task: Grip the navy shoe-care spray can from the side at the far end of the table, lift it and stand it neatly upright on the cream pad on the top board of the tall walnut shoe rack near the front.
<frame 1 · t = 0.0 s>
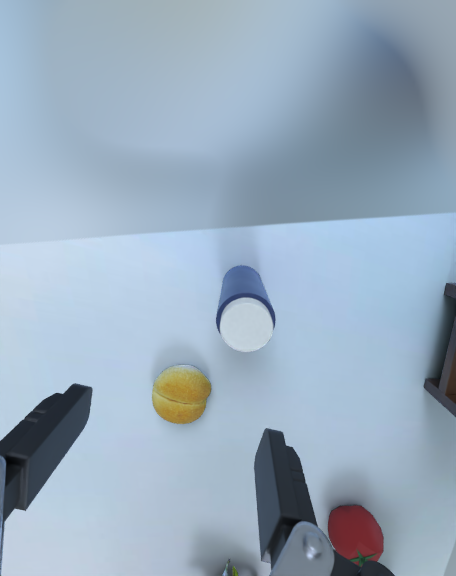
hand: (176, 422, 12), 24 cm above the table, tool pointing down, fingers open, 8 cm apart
passion flower: (227, 570, 51), on the table
tomato: (345, 510, 46), on the table
spray can: (242, 284, 35), on the table
bread roll: (183, 388, 40), on the table
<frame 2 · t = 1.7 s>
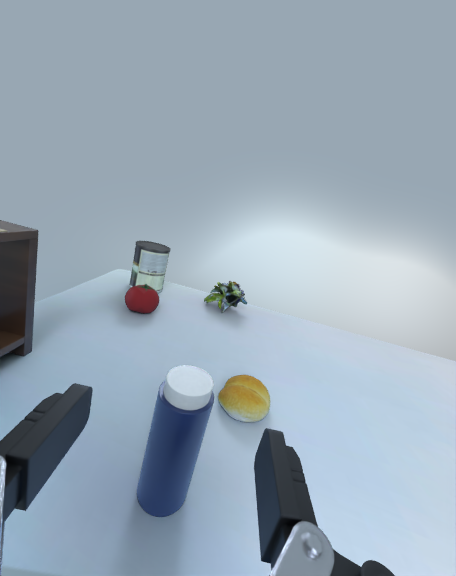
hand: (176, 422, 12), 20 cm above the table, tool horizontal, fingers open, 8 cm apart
passion flower: (223, 309, 83), on the table
tomato: (140, 311, 67), on the table
coffee can: (145, 288, 84), on the table
spray can: (162, 489, 28), on the table
bread roll: (242, 404, 44), on the table
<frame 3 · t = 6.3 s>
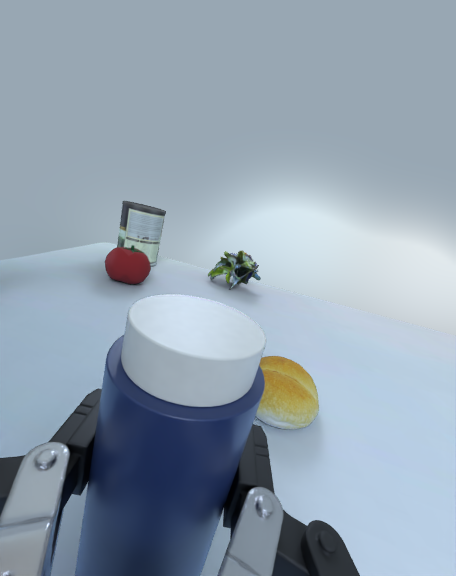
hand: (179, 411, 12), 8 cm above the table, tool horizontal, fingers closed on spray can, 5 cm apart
passion flower: (231, 286, 68), on the table
tomato: (126, 282, 51), on the table
coffee can: (136, 261, 68), on the table
bread roll: (274, 400, 28), on the table
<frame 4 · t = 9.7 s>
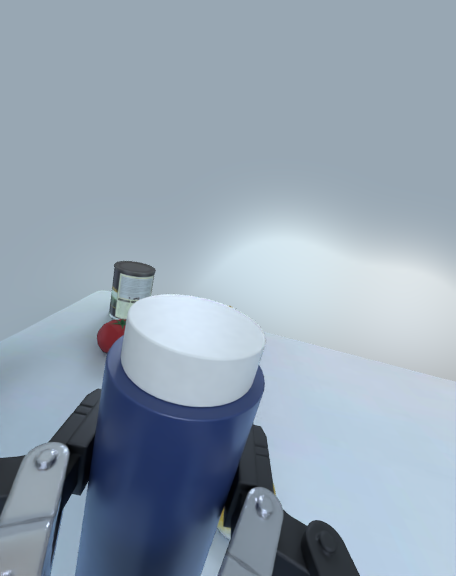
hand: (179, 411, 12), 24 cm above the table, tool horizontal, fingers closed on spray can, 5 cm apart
tomato: (117, 351, 56), on the table
coffee can: (128, 315, 73), on the table
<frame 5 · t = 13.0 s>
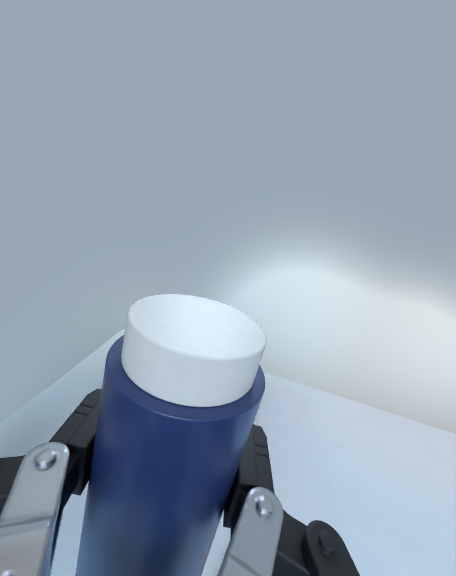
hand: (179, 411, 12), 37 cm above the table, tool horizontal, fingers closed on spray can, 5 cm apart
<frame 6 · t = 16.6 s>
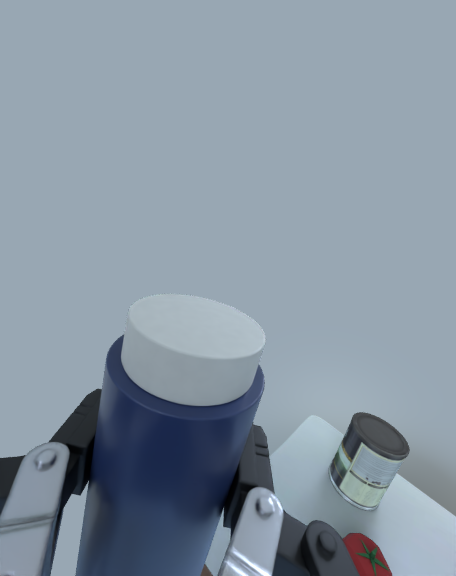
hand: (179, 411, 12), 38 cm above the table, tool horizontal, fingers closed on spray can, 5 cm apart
coffee can: (352, 484, 55), on the table
when the fingers open (28 cm above the table, at t = 19.6 s): spray can stays where it is, resting on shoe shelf.
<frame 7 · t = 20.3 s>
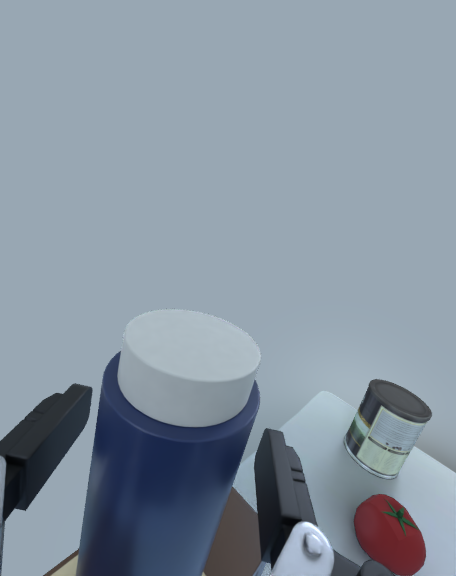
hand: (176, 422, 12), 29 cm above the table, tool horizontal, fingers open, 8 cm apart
tomato: (377, 550, 36), on the table
coffee can: (369, 455, 52), on the table
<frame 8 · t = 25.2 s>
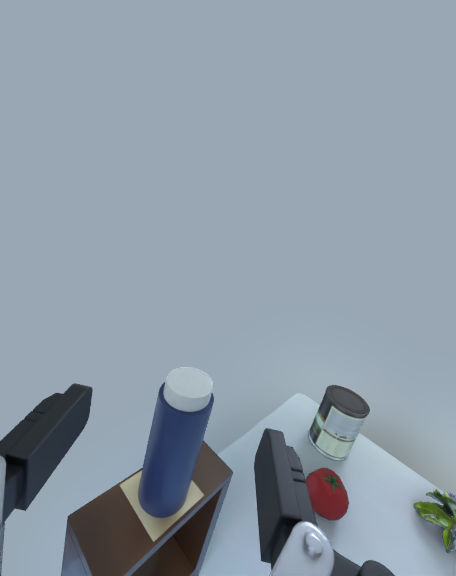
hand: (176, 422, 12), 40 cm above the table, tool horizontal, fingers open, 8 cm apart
passion flower: (449, 539, 52), on the table
tomato: (319, 506, 52), on the table
coffee can: (327, 443, 68), on the table
spray can: (163, 490, 28), point 20 cm above the table, touching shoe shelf
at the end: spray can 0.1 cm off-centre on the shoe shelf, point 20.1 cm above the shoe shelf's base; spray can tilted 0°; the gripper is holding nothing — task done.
